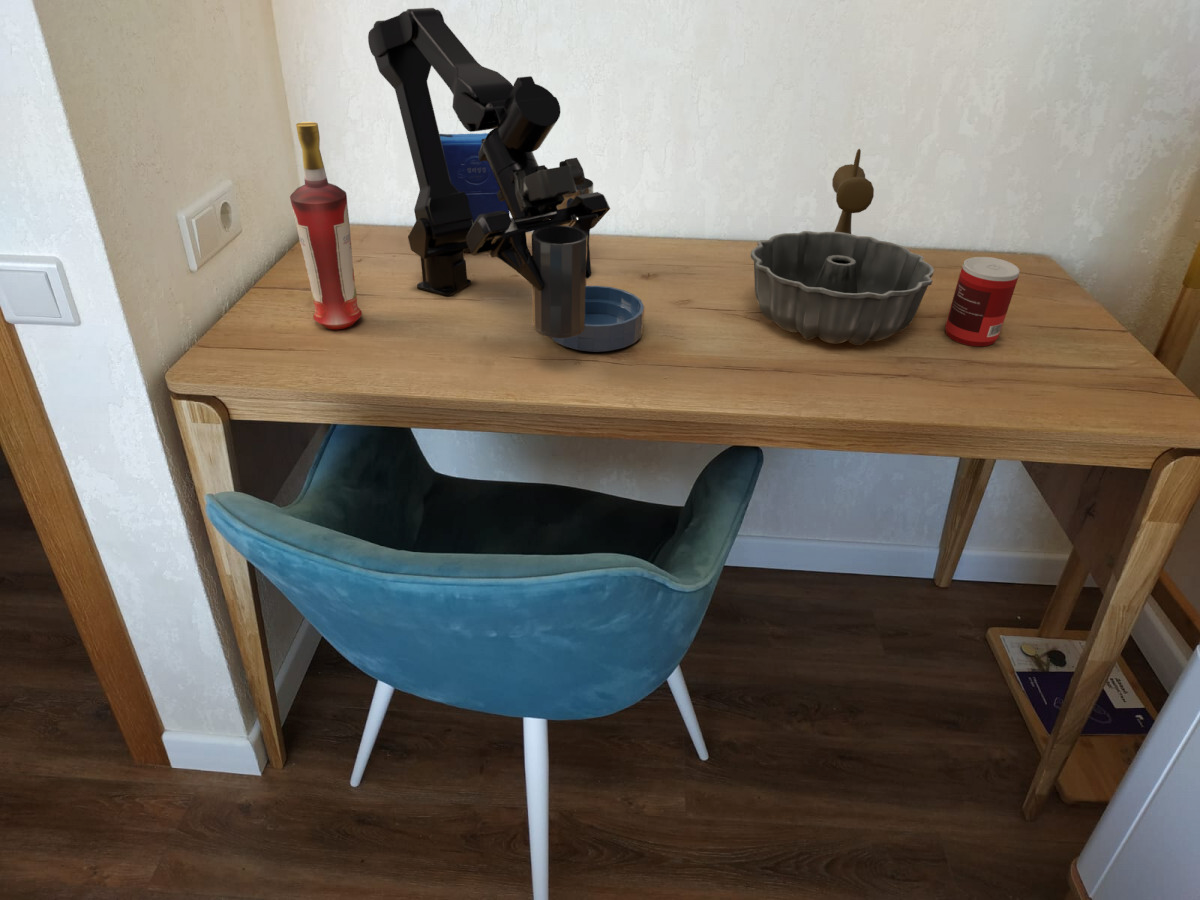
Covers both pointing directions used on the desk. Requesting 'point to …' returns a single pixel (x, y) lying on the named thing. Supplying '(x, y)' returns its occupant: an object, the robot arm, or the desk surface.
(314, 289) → the liquor
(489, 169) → the blue box
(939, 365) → the desk surface
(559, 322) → the cup
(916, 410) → the desk surface
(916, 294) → the bundt pan
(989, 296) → the canned food
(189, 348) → the desk surface
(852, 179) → the kendama
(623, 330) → the bowl
